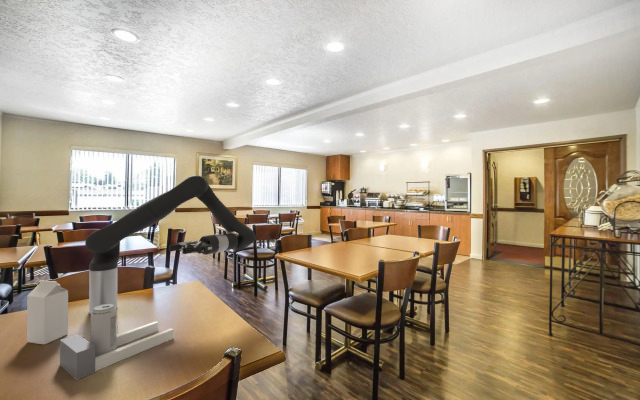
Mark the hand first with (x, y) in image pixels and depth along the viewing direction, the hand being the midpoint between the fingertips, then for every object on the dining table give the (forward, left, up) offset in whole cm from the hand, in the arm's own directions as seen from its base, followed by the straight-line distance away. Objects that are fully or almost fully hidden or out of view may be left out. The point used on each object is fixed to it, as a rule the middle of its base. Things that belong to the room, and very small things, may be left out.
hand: (176, 249), depth 104 cm
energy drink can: (+2, -23, -28) cm, 36 cm away
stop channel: (+2, -18, -28) cm, 33 cm away
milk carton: (-26, -28, -28) cm, 48 cm away
